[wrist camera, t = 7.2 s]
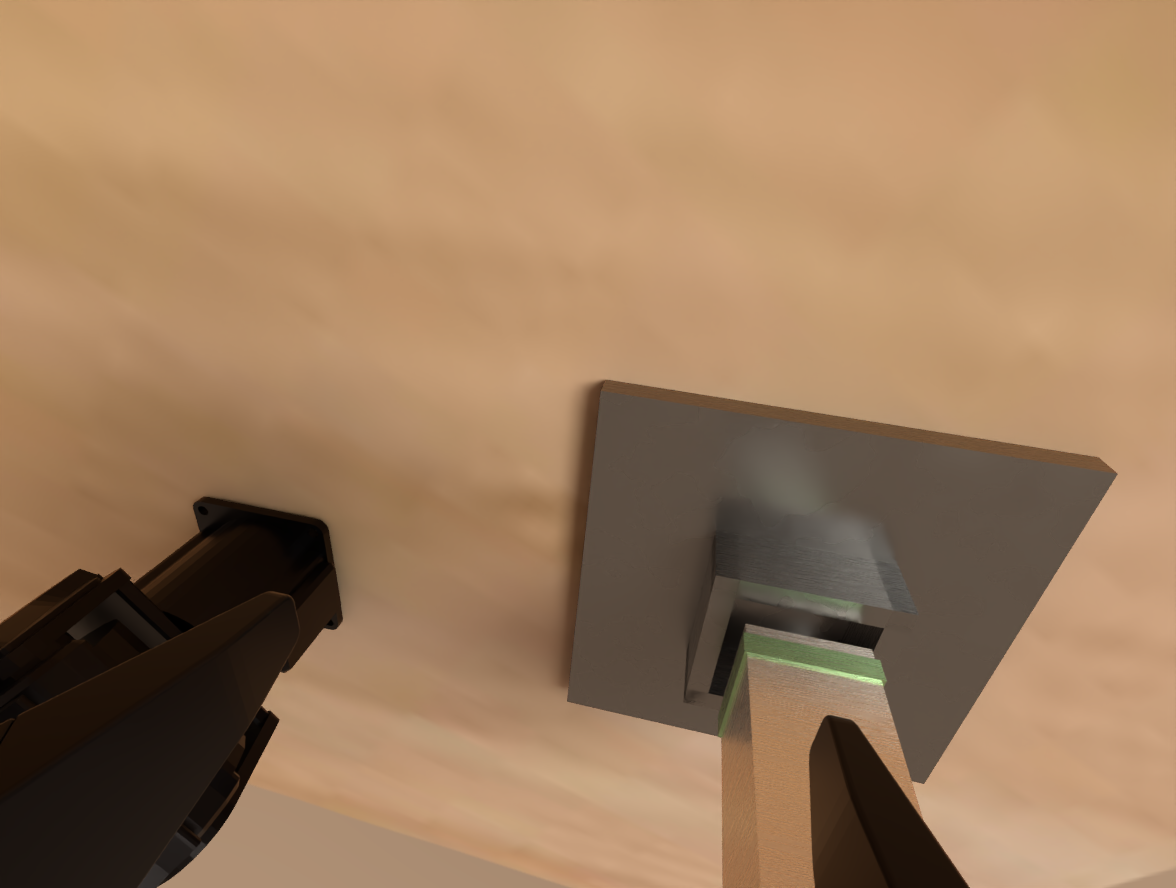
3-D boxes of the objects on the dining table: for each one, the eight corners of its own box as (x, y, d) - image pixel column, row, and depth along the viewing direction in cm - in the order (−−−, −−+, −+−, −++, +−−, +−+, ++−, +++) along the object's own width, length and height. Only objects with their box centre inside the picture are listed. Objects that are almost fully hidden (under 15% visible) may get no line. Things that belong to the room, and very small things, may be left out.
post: (717, 704, 21) (718, 1038, 13) (743, 620, 19) (761, 956, 11) (837, 731, 21) (910, 1094, 13) (876, 647, 19) (991, 1020, 11)
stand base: (571, 684, 28) (554, 750, 25) (605, 379, 21) (586, 422, 18) (917, 762, 26) (943, 844, 23) (1099, 457, 19) (1173, 521, 16)
